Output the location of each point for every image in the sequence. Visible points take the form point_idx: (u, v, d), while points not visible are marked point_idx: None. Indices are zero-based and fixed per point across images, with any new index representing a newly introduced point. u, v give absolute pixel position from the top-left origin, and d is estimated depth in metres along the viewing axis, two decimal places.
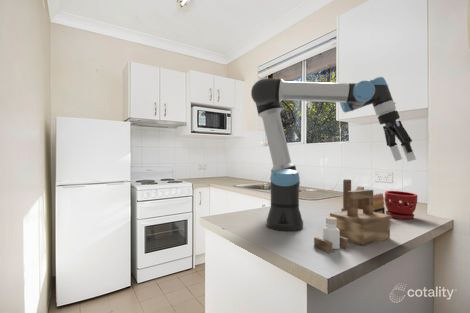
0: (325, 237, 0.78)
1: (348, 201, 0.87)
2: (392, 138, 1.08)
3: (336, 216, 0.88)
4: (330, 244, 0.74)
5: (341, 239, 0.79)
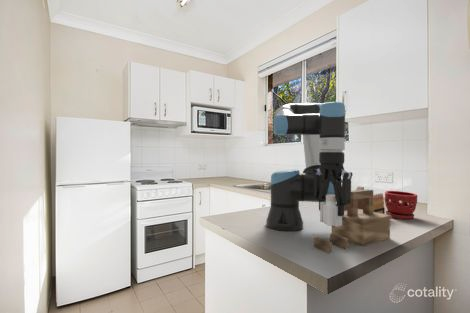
0: (325, 214, 0.78)
1: None
2: None
3: None
4: (330, 244, 0.74)
5: (341, 239, 0.79)
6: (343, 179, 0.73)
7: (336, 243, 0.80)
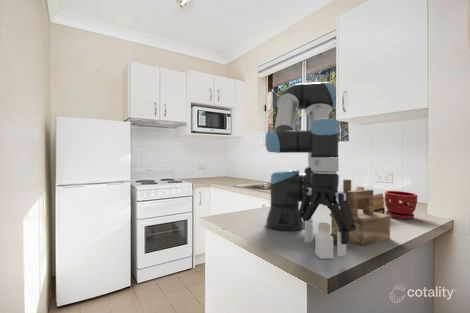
0: (318, 245, 0.70)
1: (348, 201, 0.87)
2: None
3: None
4: None
5: None
6: (339, 201, 0.65)
7: (336, 243, 0.80)
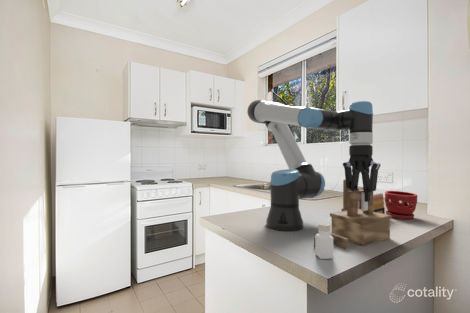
0: (318, 245, 0.70)
1: (348, 201, 0.87)
2: None
3: (336, 216, 0.88)
4: None
5: (341, 239, 0.79)
6: (372, 169, 0.84)
7: (336, 243, 0.80)
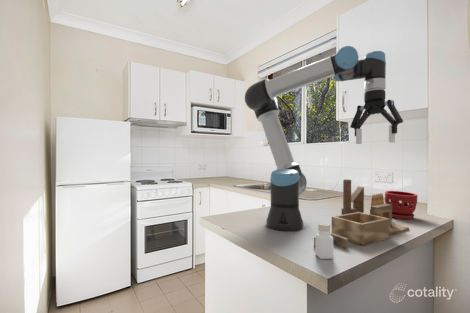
0: (318, 245, 0.70)
1: None
2: None
3: None
4: None
5: (341, 239, 0.79)
6: (388, 105, 0.94)
7: (336, 243, 0.80)
